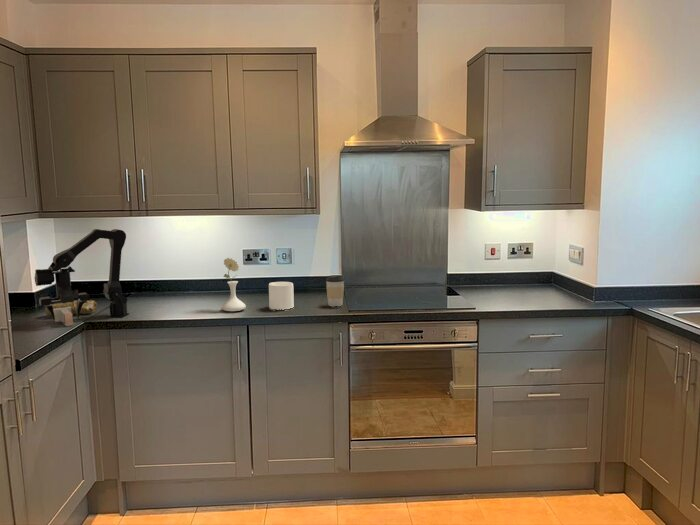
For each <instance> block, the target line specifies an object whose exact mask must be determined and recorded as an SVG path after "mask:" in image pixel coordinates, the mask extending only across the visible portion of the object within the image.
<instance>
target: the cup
mask: <svg viewBox="0 0 700 525" xmlns="http://www.w3.org/2000/svg"><path fill="white" fill-rule="evenodd" d="M294 294H295V293H294V283H293V282H291V281H275V282H274V281H273V282H269V284H268V300H269V301H268V303H269V304H268V308H269V309H270V308H271V309H277V310H279V309H280V310H281V309H282V310H284V309H290V308H293V307H294V306H295V300H294V299H295V297H294ZM294 308H295V307H294ZM294 308H293V309H294ZM271 309H270V310H271Z"/></svg>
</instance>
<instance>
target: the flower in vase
mask: <svg viewBox="0 0 700 525" xmlns="http://www.w3.org/2000/svg"><path fill="white" fill-rule="evenodd" d="M223 265H224V266H225V268H227V271H228V272H227V273H225V274H224V275H223V278H226V279H230V281H227V284H228V286H229V289H230V296H229V298H228V299H227V300H226V301H225V302H224V303H223V304H222V305H221V310H223V311H225V312H238V311H239V312H240V311H243V310H244V309H246V308H247V305H246V304H245V303H244V302H243V301H242V300H240V299H239V298H238V297H237V294H236V288H237V284H238V283H239V281H238V280H233V279H234V278H236V276H238V274H236V275H234V276H232V277H230V274H229V273H230V271H231V272H238V271H239V264H238V263H237V261H235V259H233V258H231V257H226V258H224V259H223Z"/></svg>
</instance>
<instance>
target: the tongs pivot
mask: <svg viewBox="0 0 700 525" xmlns="http://www.w3.org/2000/svg"><path fill="white" fill-rule="evenodd" d="M61 309H67V310H69V311H70V312H71V313H72V310H71V307H65V308H57V309H53V311H54V316H55V320H53V321H54V322H55V323H58V322H61V321H60V310H61Z"/></svg>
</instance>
